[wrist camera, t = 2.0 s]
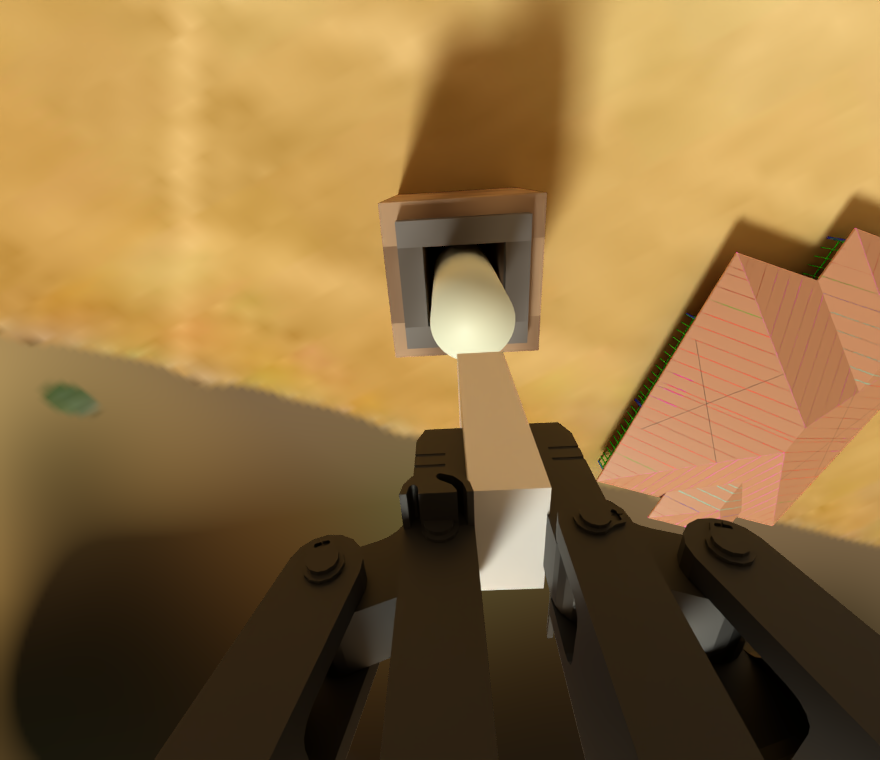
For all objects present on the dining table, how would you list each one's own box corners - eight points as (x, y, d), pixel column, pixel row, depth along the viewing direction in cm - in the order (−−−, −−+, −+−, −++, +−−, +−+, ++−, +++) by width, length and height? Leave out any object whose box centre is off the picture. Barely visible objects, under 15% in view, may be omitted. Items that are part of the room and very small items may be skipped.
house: (576, 480, 49) (600, 532, 42) (743, 194, 35) (822, 199, 28) (740, 521, 52) (788, 577, 45) (954, 272, 38) (1076, 296, 31)
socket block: (514, 187, 35) (551, 193, 23) (512, 302, 39) (541, 356, 28) (397, 194, 35) (375, 204, 23) (408, 307, 39) (394, 363, 28)
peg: (489, 239, 29) (516, 277, 18) (489, 295, 31) (514, 359, 20) (432, 242, 29) (427, 282, 18) (436, 297, 31) (433, 363, 20)
